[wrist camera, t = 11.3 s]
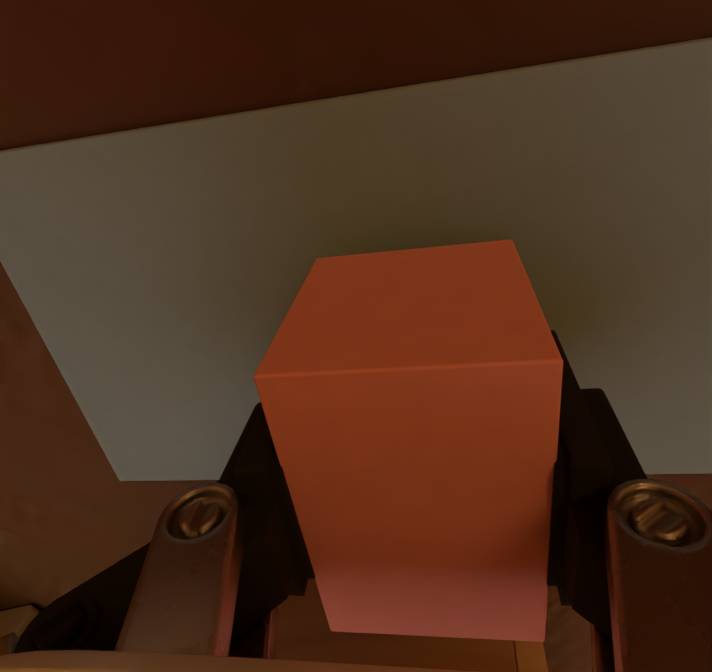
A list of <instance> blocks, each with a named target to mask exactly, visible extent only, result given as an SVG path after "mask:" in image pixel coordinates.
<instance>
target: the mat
mask: <svg viewBox="0 0 712 672" xmlns="http://www.w3.org/2000/svg"><path fill="white" fill-rule="evenodd" d="M500 240H513V243H514V245H515V247H516V250H517V252H518V254H519V257H520V259H521V262H522V264H523V266H524V269H525V271H526V274H527V276H528V278H529V281H530V283H531V286H532V288H533V290H534V293H535V295H536V297H537V300H538V302H539V305H540V307H541V309H542V312H543V314H544V317H545V319H546V321H547V324H548V326H549V328H550V330H555V332H556V334H557V336H558V338H559V341H560V343H561V345H562V348H563V350H564V352H565V355H566V357H567V359H568V361H569V364H570V366H571V368H572V371H573V373H574V375H575V378H576V380H577V382H578V384H579V387H580V389H587V388H600V389H602V390H603V391H604V393H605V394H606V396H607V398H608V400H609V402H610V404H611V406H612V408H613V410H614V412H615V414H616V416H617V418H618V420H619V422H620V424H621V427H622V429H623V431H624V433H625V435H626V437H627V439H628V441H629V443H630V445H631V447H632V449H633V451H634V453H635V455H636V457H637V459H638V461H639V463H640V465H641V467H642V469H643V471H644V473H645V474H704V473H712V37H710V38H704V39H697V40H691V41H685V42H678V43H672V44H666V45H660V46H653V47H647V48H641V49H634V50H628V51H622V52H616V53H609V54H603V55H597V56H590V57H584V58H578V59H572V60H565V61H559V62H553V63H546V64H540V65H534V66H528V67H521V68H515V69H509V70H502V71H496V72H490V73H484V74H477V75H471V76H465V77H459V78H452V79H446V80H440V81H433V82H427V83H421V84H415V85H408V86H402V87H396V88H389V89H383V90H377V91H371V92H364V93H358V94H352V95H345V96H339V97H333V98H327V99H320V100H314V101H308V102H301V103H295V104H289V105H283V106H276V107H270V108H264V109H258V110H251V111H245V112H239V113H232V114H226V115H220V116H214V117H207V118H201V119H195V120H188V121H182V122H176V123H170V124H163V125H157V126H151V127H144V128H138V129H132V130H126V131H119V132H113V133H107V134H100V135H94V136H88V137H82V138H75V139H69V140H63V141H56V142H50V143H44V144H38V145H31V146H25V147H19V148H13V149H6V150H0V261H1V263H2V265H3V267H4V269H5V271H6V273H7V274H8V276H9V278H10V280H11V282H12V284H13V285H14V287H15V289H16V291H17V293H18V295H19V297H20V298H21V300H22V302H23V304H24V306H25V308H26V309H27V311H28V313H29V315H30V317H31V319H32V320H33V322H34V324H35V326H36V328H37V330H38V332H39V333H40V335H41V337H42V339H43V341H44V343H45V344H46V346H47V348H48V350H49V352H50V354H51V355H52V357H53V359H54V361H55V363H56V365H57V367H58V368H59V370H60V372H61V374H62V376H63V378H64V379H65V381H66V383H67V385H68V387H69V389H70V391H71V392H72V394H73V396H74V398H75V400H76V402H77V403H78V405H79V407H80V409H81V411H82V413H83V414H84V416H85V418H86V420H87V422H88V424H89V426H90V427H91V429H92V431H93V433H94V435H95V437H96V438H97V440H98V442H99V444H100V446H101V448H102V450H103V451H104V453H105V455H106V457H107V459H108V461H109V462H110V464H111V466H112V468H113V470H114V472H115V473H116V475H117V477H118V479H119V481H169V480H219V479H220V477H221V475H222V473H223V471H224V469H225V467H226V465H227V463H228V460H229V458H230V456H231V454H232V452H233V450H234V448H235V446H236V444H237V442H238V440H239V438H240V436H241V434H242V432H243V430H244V428H245V426H246V423H247V421H248V419H249V417H250V415H251V413H252V411H253V409H254V407H255V406H256V404H257V403H259V402H261V401H260V397H259V394H258V391H257V387H256V384H255V381H254V374H255V372H256V370H257V369H258V367H259V365H260V363H261V361H262V359H263V357H264V356H265V354H266V352H267V350H268V348H269V346H270V344H271V343H272V341H273V339H274V337H275V335H276V333H277V331H278V330H279V328H280V326H281V324H282V322H283V320H284V318H285V316H286V315H287V313H288V311H289V309H290V307H291V305H292V303H293V302H294V300H295V298H296V296H297V294H298V292H299V290H300V289H301V287H302V285H303V283H304V281H305V279H306V277H307V276H308V274H309V272H310V270H311V268H312V266H313V264H314V262H315V261H316V259H317V258H324V257H335V256H345V255H355V254H366V253H376V252H386V251H397V250H407V249H417V248H427V247H438V246H448V245H458V244H469V243H479V242H489V241H500Z"/></svg>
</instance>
